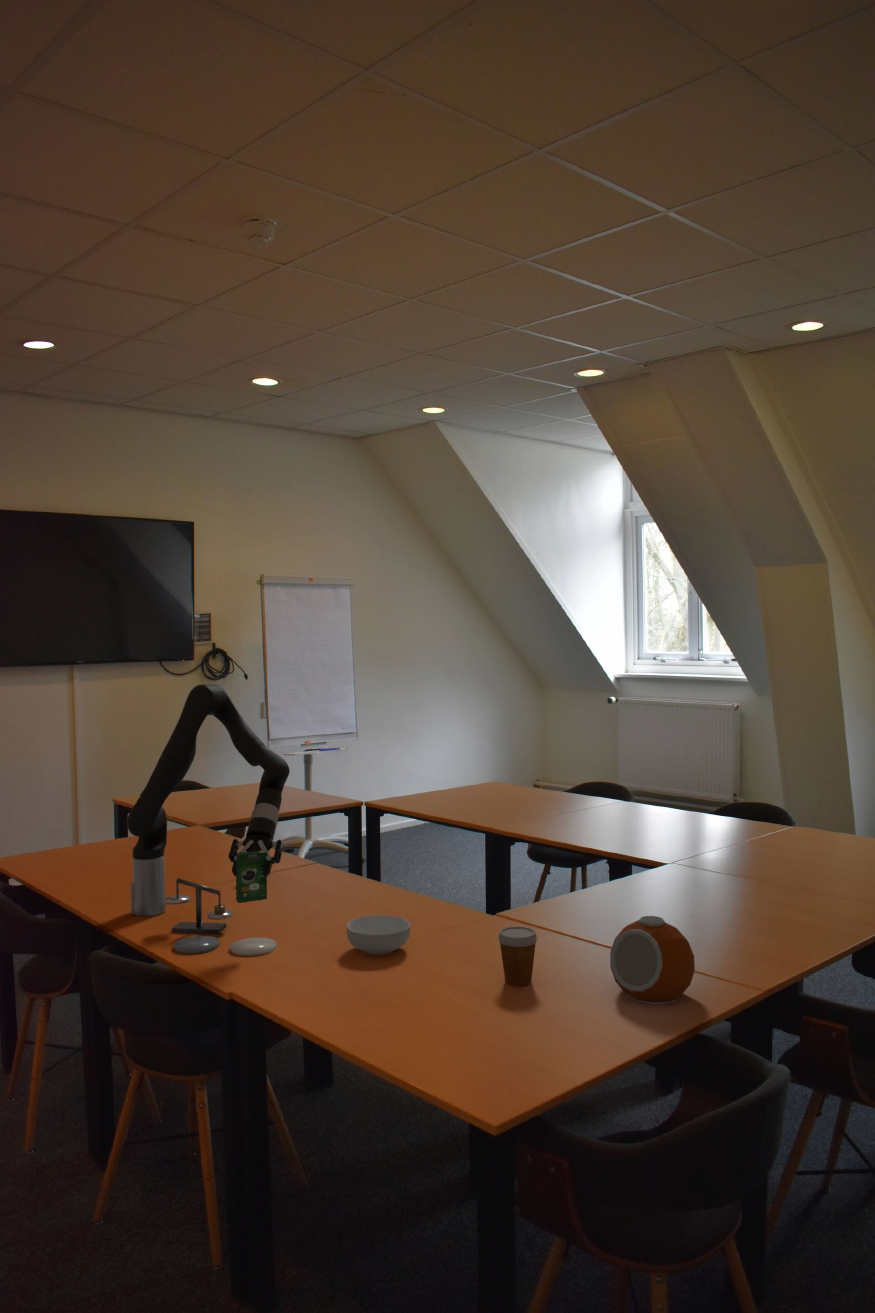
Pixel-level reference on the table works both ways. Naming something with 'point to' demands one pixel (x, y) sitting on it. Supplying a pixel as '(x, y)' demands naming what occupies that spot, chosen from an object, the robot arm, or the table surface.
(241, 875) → the coffee box
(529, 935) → the disposable coffee cup
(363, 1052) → the table surface
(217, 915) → the balance
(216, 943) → the grey dish
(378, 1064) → the table surface
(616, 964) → the alarm clock
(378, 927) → the cereal bowl
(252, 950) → the white dish
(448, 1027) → the table surface
